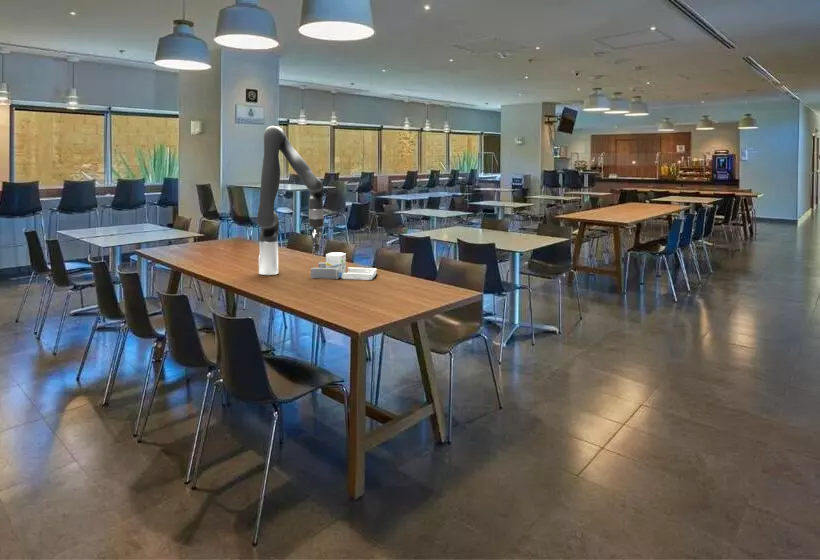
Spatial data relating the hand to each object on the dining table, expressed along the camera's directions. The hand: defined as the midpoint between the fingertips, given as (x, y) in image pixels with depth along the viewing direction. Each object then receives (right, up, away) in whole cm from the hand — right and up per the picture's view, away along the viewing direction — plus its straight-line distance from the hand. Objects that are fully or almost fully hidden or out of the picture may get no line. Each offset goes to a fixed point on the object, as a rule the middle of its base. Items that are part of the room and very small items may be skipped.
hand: (317, 250), depth 313 cm
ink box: (+10, -13, +2) cm, 16 cm away
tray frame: (+21, -13, +1) cm, 25 cm away
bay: (+6, -13, +2) cm, 14 cm away
